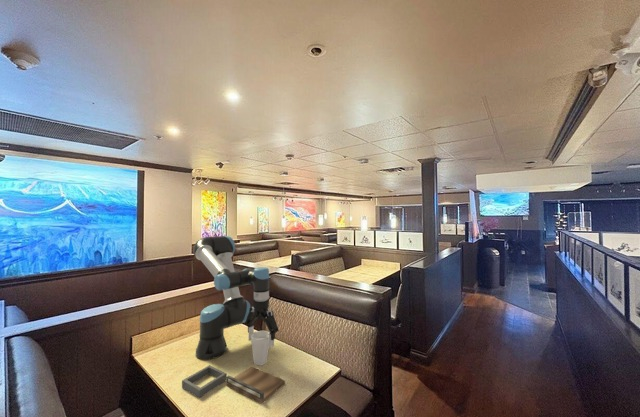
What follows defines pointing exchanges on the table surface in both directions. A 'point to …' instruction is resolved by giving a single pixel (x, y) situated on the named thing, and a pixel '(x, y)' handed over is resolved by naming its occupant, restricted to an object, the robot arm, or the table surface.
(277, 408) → the table surface
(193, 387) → the frame
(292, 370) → the table surface
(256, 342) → the foam cup
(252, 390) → the shelf board
